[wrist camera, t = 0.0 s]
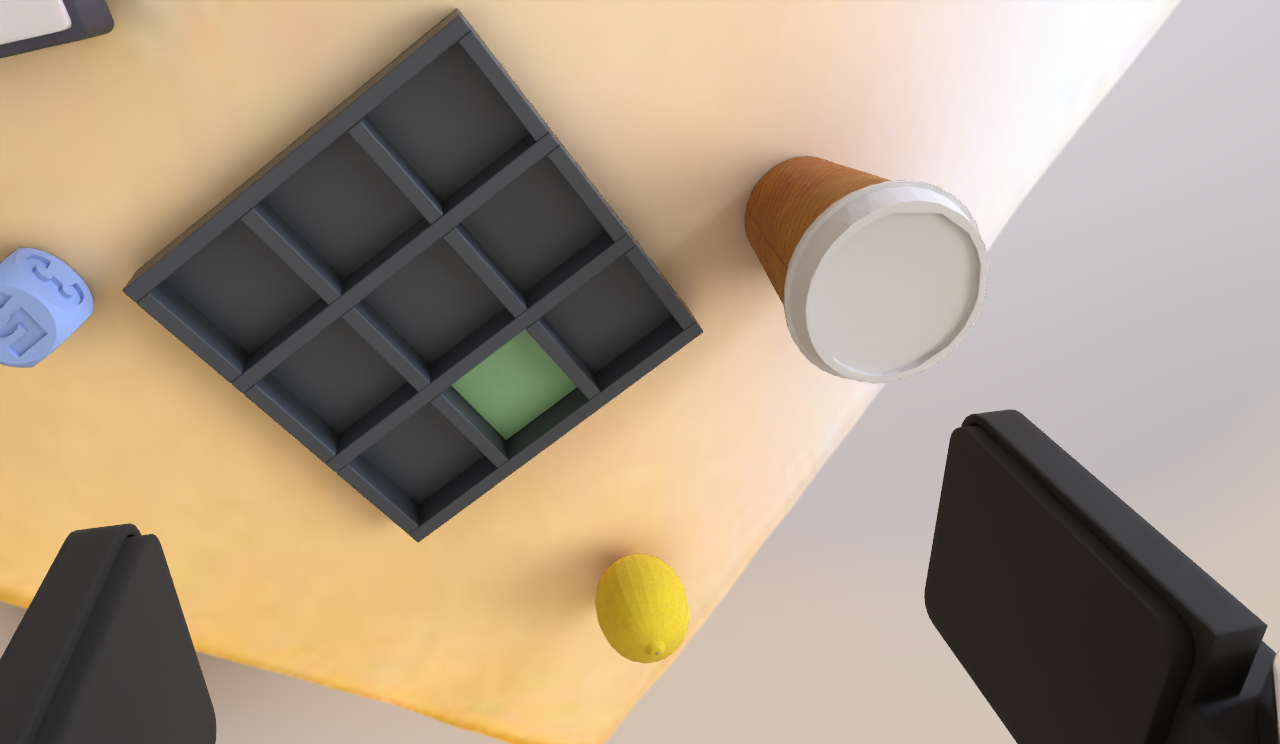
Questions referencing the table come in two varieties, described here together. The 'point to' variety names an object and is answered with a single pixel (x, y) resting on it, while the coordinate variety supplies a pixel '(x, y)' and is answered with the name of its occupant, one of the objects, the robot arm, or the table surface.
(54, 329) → the decorative dice
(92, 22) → the calculator
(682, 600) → the lemon
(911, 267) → the disposable coffee cup
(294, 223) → the grid tray
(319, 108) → the table surface
